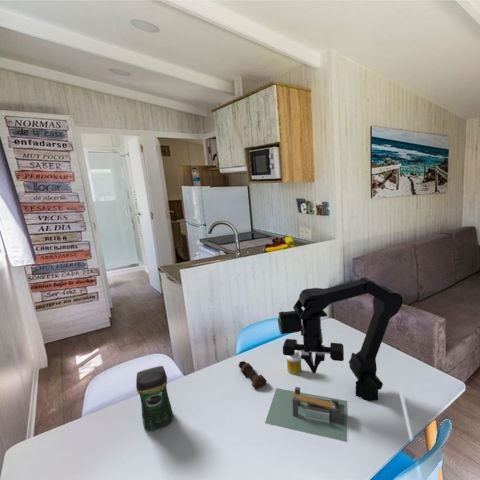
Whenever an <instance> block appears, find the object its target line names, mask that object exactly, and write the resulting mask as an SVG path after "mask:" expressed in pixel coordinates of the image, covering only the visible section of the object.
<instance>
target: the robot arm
mask: <svg viewBox="0 0 480 480" xmlns="http://www.w3.org/2000/svg"><path fill="white" fill-rule="evenodd" d="M366 294H369V295H371V296H373V299H372V305H373V313H372V317H371V319H370V322H369V325H368V328H367V331H366V335H365V338H364V339H363V343H362V345H361V348H360V350H359V351H358V352H356V353H355V352H352V353H351V354H350V355H351V356H350V360H349V361H348V364H349V368H350V371H351V372H352V374H353V375H354V376H355V378H356V381H355V397H358V398H360V399H362V400H364V401H366V402H374V401H379V390H382V388H383V385H384V384H383V382H382V380H381V379H380V378H379V377H378V375H377V369H378V368H377V359H376V358H377V355H378V353H379V350H380V347H381V344H382V342H383V340H384V337H385V334H386V331H387V328H388V324H389V323H390V320H391V319H392V318H393V317H394V316H396V315H397V314H398V313H399V311H400V309H401V308H402V306H403V304H404V298H403V297H402V295H401V294H400V293H398V292H397V291H395V290H394V289H392V288H391V287H390V286H386V285H382V286H381V285H379V284H377V283H376V282H375V281H373V280H371V279H370V278H369V277H365V276H364V277H361V278H360V279H356V280H353V281H349V282H345V283H340V284H339V285H334V286H331V287H325V288H322V287H313V288H305V289H303V290H301V292H300V293H299V296H298V299H297V300H296V302H295V304H294V305H293V310H289V311H279V312H278V318H277V323H278V324H277V325H278V330H279V334H280V335H286V334H294V333H295V334H296V333H299V332H300V336H302V338H303V339H302V340H303V344H301V343H298V340H297V339H295V338H293V339H292V338H286V339H285V340H284V342H283V345H282V355H283V356H287V355H288V356H293V355H294V354H295V350H298V351H299V352H300V353H301V354H300V356H301V360H304V361H305V362H306V364H307V366H308V367H309V369H310V370H311V372H312V374H316V372H317V370H318V368H319V365H320V363H321V362H324V361H325V358H326V355H329V357H330V359H331V360H332V361H336V362H343V361H344V359H345V357H344V356H345V355H344V354H345V353H344V344H342V343H341V342H330V346H325V344H323V342H324V341H323V331H322V329H323V328H322V325H321V324H322V323H321V322H322V321H321V320H322V319H321V318H324V317H328V313H327V312H326V311H325V309H326V308H328V307H329V305H333V303H337V302H341V301H345V300H348V299H353V298H357V297H359V296H364V295H366ZM313 353H314V354H315V356H314V359H313Z"/></svg>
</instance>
